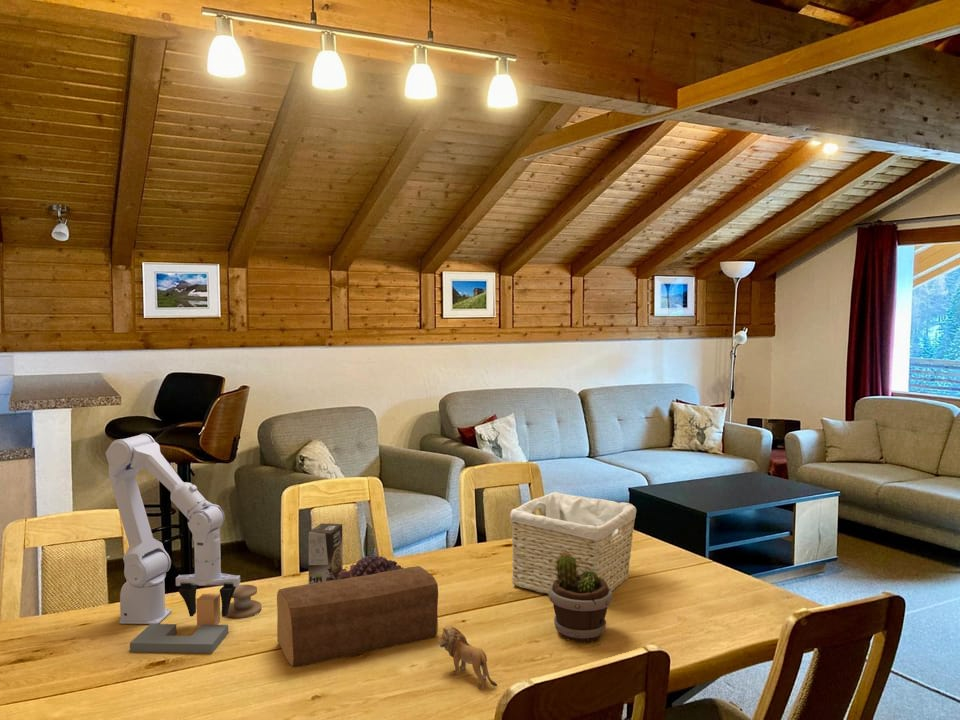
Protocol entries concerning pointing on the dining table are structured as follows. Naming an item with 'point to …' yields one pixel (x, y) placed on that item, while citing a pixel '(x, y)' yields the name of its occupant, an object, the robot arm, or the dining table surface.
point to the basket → (571, 539)
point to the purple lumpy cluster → (369, 567)
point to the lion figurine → (464, 654)
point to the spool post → (244, 602)
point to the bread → (356, 614)
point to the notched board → (178, 639)
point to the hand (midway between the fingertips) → (208, 614)
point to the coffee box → (325, 553)
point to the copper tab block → (208, 610)
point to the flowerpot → (579, 601)
